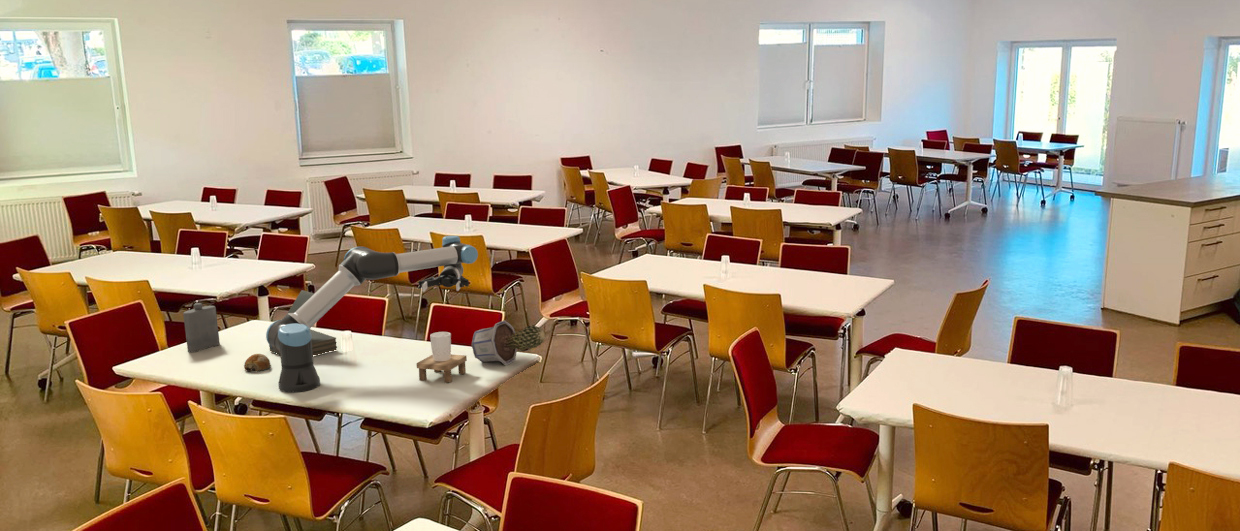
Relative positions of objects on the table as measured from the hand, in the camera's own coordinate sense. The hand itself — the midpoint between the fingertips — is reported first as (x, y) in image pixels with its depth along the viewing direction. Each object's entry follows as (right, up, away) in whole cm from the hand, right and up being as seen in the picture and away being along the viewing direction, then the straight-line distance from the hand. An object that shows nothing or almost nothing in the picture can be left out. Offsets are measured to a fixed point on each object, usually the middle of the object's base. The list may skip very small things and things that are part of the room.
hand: (440, 288), depth 384 cm
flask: (-113, -28, +42) cm, 123 cm away
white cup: (+3, -28, -10) cm, 30 cm away
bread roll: (-76, -33, +9) cm, 84 cm away
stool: (+3, -34, -9) cm, 36 cm away
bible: (-65, -29, +32) cm, 78 cm away
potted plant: (+27, -31, +6) cm, 42 cm away
